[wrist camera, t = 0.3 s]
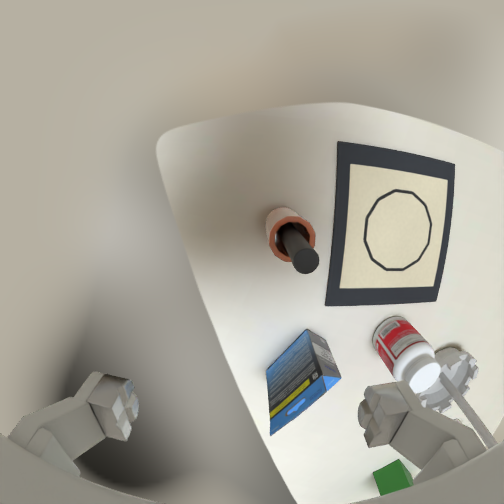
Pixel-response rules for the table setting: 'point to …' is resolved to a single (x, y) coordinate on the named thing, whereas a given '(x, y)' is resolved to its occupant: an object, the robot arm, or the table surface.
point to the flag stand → (455, 388)
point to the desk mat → (389, 226)
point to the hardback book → (393, 478)
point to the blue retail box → (299, 379)
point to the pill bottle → (406, 354)
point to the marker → (298, 249)
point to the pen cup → (281, 218)
